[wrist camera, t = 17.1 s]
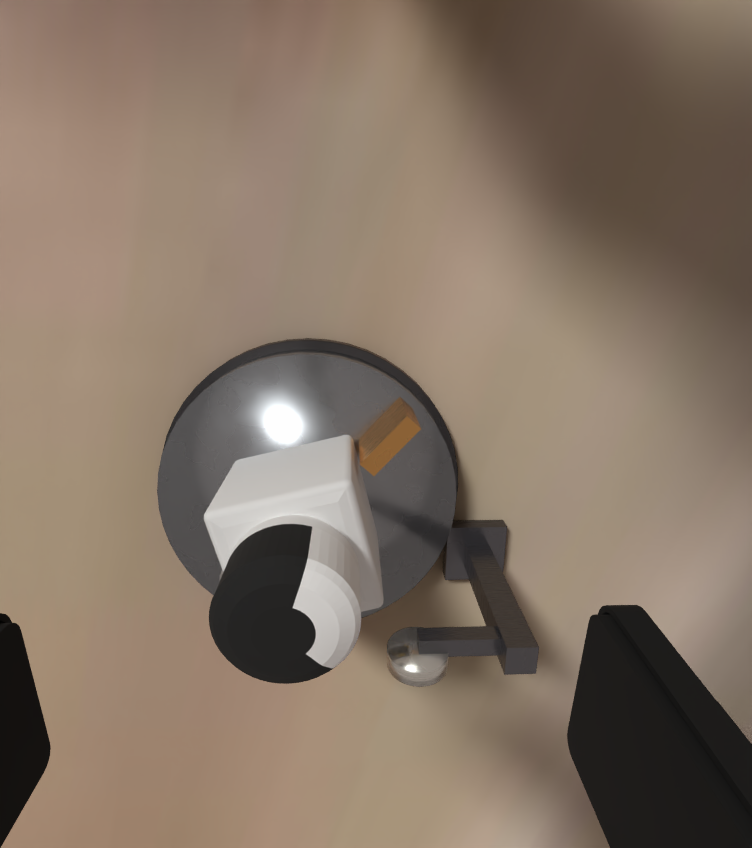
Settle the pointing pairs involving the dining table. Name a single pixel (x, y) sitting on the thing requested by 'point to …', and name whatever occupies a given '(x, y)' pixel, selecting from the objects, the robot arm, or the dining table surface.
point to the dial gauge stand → (505, 624)
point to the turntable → (305, 423)
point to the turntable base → (334, 347)
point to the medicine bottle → (293, 560)
